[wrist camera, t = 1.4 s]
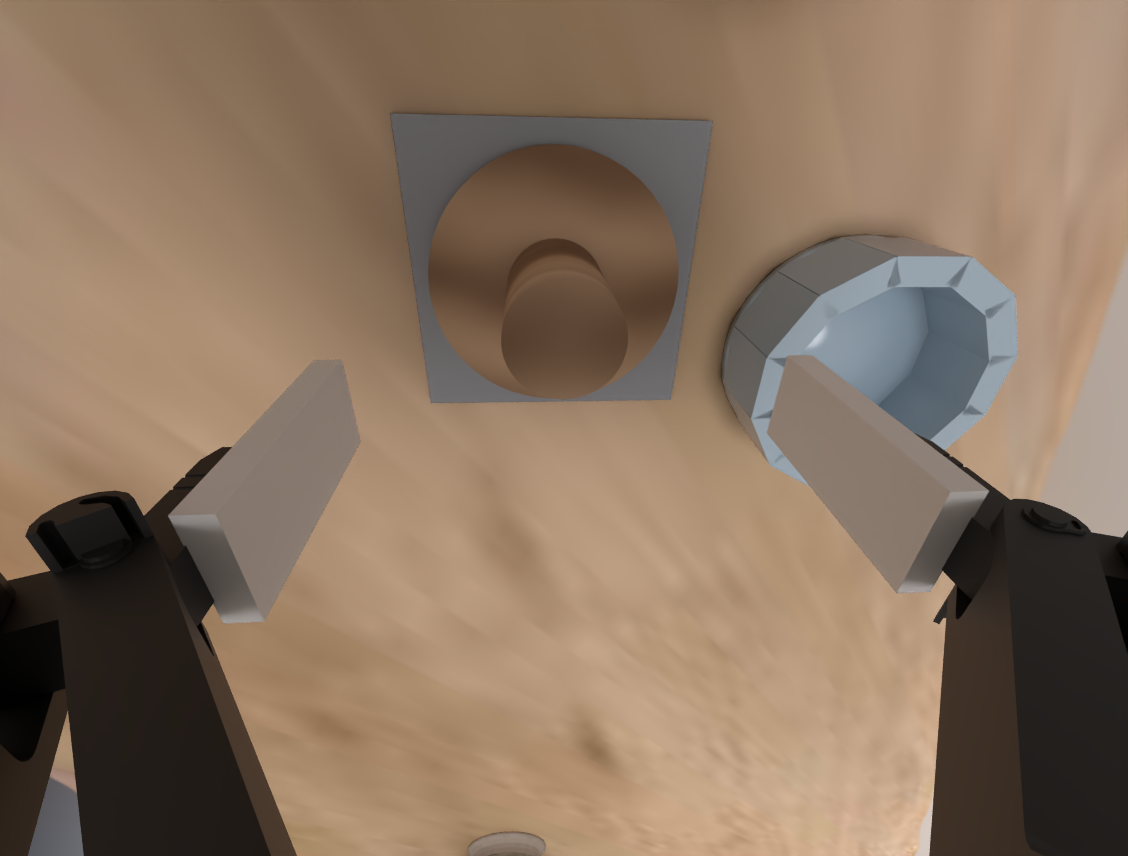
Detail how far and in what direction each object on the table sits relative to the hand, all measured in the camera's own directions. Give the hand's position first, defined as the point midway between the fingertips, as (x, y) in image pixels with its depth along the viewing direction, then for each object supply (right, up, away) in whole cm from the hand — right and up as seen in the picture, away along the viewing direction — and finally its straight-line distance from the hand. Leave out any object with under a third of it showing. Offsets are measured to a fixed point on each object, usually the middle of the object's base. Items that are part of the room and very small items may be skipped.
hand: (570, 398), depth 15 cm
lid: (-1, +7, +10) cm, 12 cm away
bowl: (+15, +4, +14) cm, 21 cm away
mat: (-1, +7, +10) cm, 13 cm away
